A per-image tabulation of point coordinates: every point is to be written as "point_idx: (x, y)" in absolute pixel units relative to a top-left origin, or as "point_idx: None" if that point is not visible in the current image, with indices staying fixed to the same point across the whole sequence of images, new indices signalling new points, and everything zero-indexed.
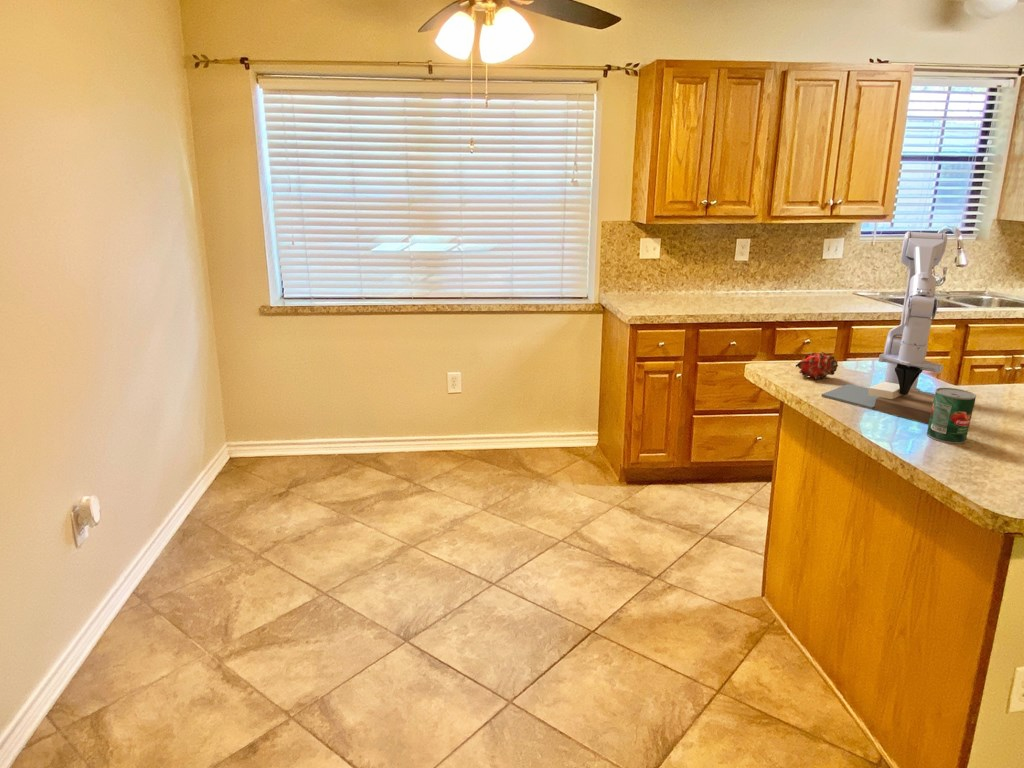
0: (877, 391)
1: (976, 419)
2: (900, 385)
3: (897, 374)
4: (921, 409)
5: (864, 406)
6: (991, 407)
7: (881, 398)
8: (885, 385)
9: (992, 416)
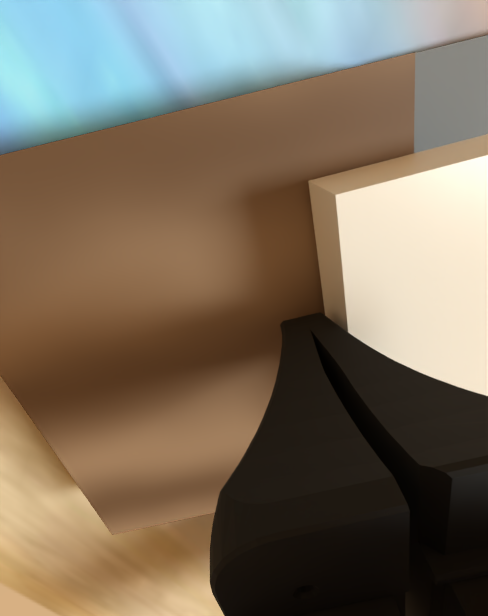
0: (475, 151)
1: (8, 468)
2: (349, 343)
3: (466, 395)
4: (7, 178)
5: (449, 45)
6: (123, 594)
7: (387, 129)
8: (479, 337)
9: (31, 538)
